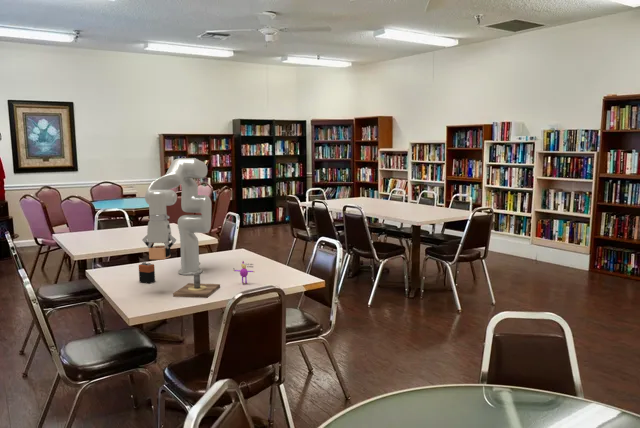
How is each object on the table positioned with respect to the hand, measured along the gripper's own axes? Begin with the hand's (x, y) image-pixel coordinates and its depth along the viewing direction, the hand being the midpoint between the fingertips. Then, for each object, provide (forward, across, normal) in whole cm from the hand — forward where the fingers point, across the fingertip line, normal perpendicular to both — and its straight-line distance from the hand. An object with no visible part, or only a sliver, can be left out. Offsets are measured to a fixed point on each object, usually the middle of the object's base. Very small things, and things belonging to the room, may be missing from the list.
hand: (160, 256), depth 231 cm
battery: (+18, +16, -18) cm, 30 cm away
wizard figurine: (+18, -34, -20) cm, 43 cm away
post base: (+18, -16, -4) cm, 24 cm away
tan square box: (+1, 0, 0) cm, 1 cm away
